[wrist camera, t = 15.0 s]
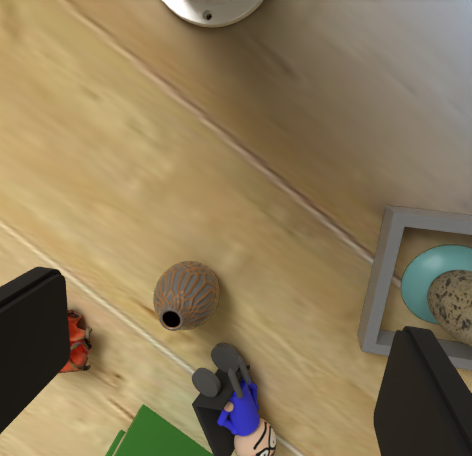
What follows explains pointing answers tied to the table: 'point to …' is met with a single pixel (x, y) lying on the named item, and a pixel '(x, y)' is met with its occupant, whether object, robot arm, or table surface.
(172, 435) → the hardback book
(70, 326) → the dragon fruit
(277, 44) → the table surface
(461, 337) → the decorative egg
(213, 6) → the robot arm
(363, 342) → the walled pen
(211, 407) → the character figurine
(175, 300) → the vase
